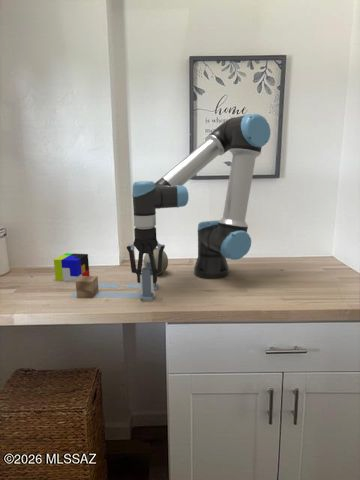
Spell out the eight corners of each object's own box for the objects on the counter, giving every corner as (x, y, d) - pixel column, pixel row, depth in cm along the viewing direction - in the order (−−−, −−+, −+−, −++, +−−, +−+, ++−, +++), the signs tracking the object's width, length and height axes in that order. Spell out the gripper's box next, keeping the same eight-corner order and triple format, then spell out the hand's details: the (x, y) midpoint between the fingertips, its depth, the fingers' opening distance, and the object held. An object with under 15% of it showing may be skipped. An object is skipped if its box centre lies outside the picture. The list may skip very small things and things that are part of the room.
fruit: (168, 269, 159) (167, 237, 156) (168, 277, 148) (167, 243, 144) (145, 269, 159) (144, 237, 155) (143, 278, 148) (142, 243, 144)
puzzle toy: (78, 284, 142) (76, 260, 139) (56, 283, 144) (53, 259, 141) (89, 276, 151) (87, 254, 149) (68, 275, 153) (66, 253, 151)
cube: (98, 291, 130) (97, 276, 129) (93, 297, 124) (92, 281, 123) (82, 291, 131) (81, 275, 129) (76, 297, 125) (75, 281, 124)
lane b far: (120, 285, 139) (120, 283, 138) (117, 290, 134) (117, 287, 134) (83, 285, 140) (83, 283, 140) (79, 289, 135) (78, 287, 135)
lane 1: (154, 295, 128) (153, 266, 126) (152, 300, 123) (151, 270, 121) (74, 294, 131) (72, 265, 128) (69, 299, 126) (66, 270, 123)
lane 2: (158, 286, 137) (157, 259, 135) (156, 290, 133) (155, 263, 130) (127, 285, 138) (126, 259, 136) (125, 290, 134) (123, 262, 131)
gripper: (169, 224, 123) (171, 287, 128) (124, 224, 125) (127, 287, 130) (167, 228, 116) (168, 295, 121) (119, 228, 117) (123, 294, 122)
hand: (147, 291), depth 125 cm, fingers closed on lane 1, 3 cm apart
